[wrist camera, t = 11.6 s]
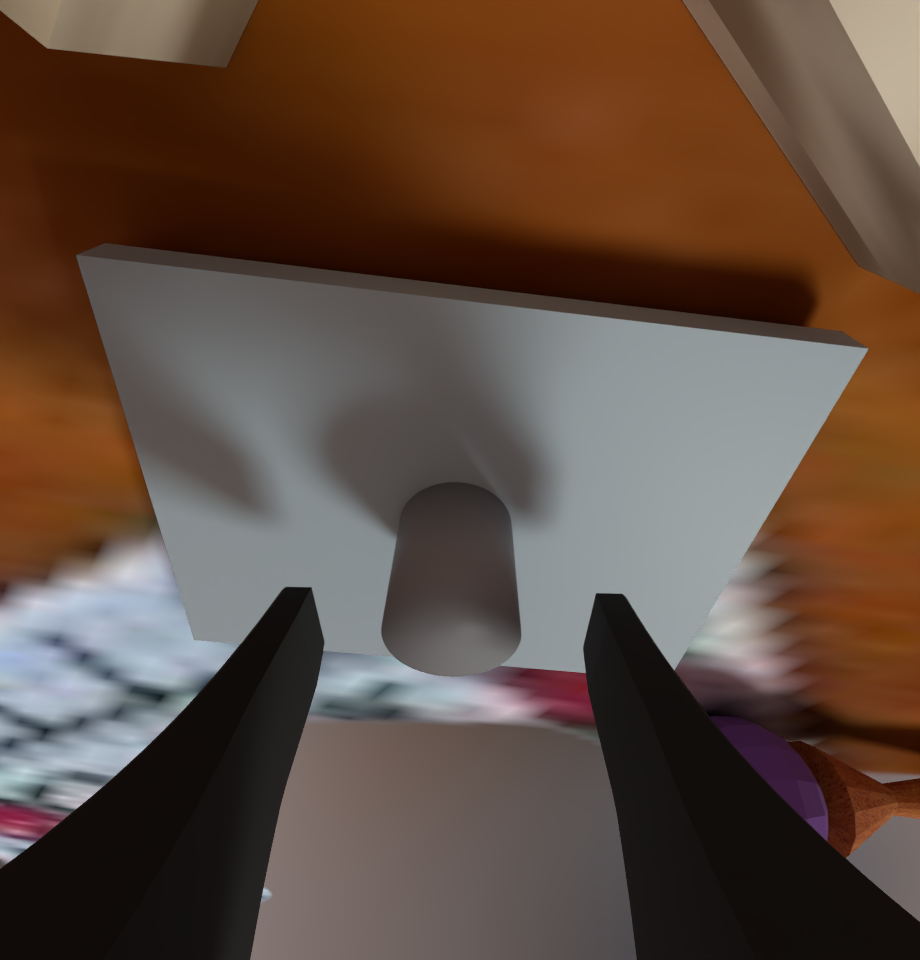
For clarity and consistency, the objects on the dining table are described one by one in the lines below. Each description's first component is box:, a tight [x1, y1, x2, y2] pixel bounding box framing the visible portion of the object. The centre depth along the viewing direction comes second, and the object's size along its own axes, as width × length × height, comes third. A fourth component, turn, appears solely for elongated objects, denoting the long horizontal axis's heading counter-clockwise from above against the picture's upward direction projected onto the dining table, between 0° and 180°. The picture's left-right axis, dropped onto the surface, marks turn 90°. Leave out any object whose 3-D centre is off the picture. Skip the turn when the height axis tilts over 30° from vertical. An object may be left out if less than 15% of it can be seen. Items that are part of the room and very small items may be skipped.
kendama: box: [710, 716, 920, 858], centre depth 22 cm, size 6×6×20 cm
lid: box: [76, 243, 868, 677], centre depth 13 cm, size 16×12×6 cm
